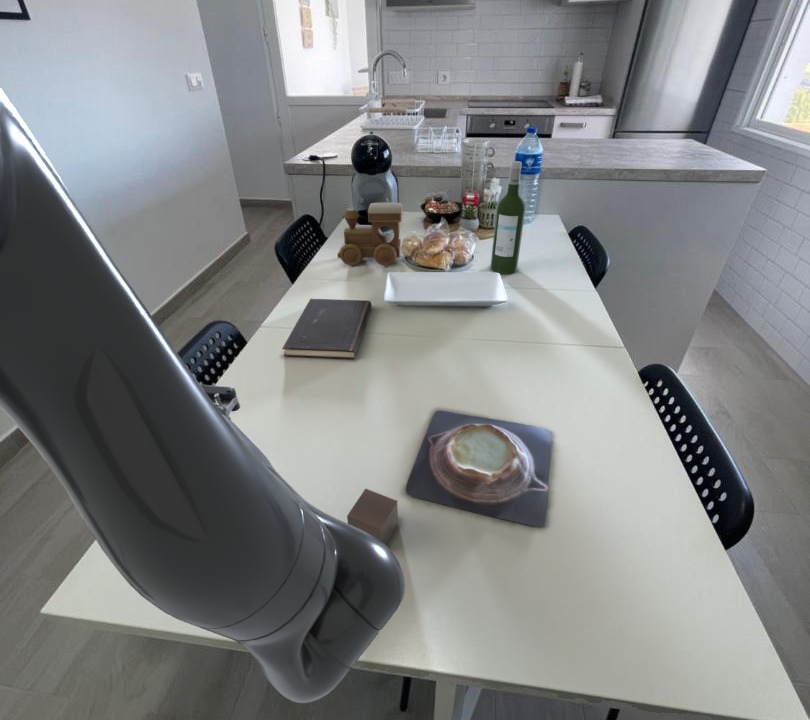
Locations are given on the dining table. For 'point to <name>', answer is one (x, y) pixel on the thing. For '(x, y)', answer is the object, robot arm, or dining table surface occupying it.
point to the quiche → (484, 467)
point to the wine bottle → (508, 226)
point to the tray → (444, 289)
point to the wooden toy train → (372, 235)
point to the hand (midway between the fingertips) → (148, 386)
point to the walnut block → (374, 515)
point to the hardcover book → (329, 329)
